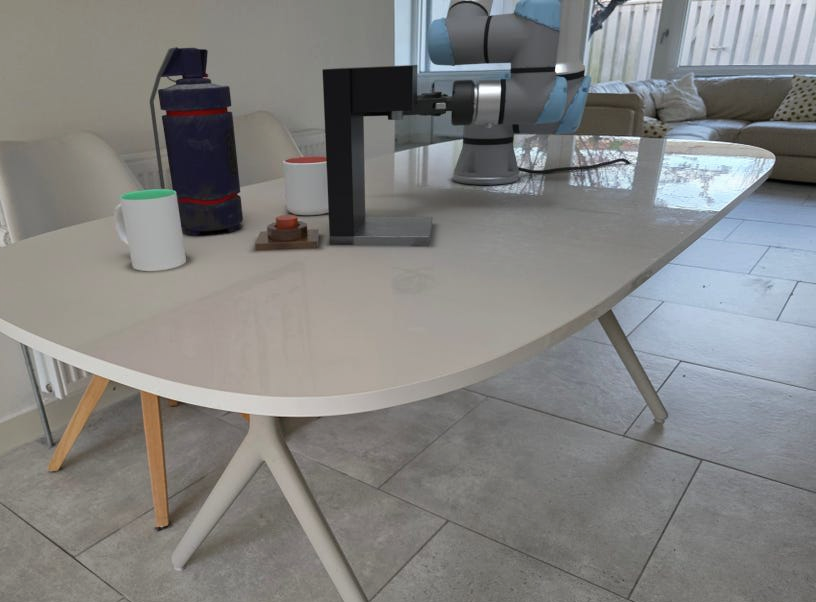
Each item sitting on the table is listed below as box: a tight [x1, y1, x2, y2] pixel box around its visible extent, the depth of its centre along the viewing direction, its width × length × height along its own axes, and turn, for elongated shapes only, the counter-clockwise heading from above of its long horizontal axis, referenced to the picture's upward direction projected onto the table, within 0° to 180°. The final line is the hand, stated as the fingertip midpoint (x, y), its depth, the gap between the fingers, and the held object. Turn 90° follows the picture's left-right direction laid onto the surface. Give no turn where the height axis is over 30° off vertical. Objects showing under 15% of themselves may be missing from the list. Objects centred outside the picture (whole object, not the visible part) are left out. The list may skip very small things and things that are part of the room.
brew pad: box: [254, 220, 320, 252], centre depth 102 cm, size 10×8×3 cm
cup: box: [282, 155, 329, 217], centre depth 123 cm, size 10×10×10 cm
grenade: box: [149, 46, 244, 237], centre depth 108 cm, size 14×12×30 cm
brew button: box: [275, 214, 299, 229], centre depth 102 cm, size 4×4×2 cm
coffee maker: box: [322, 64, 433, 247], centre depth 100 cm, size 16×14×26 cm
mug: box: [113, 188, 187, 272], centre depth 94 cm, size 12×8×10 cm
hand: (356, 106), depth 115 cm, fingers open, 13 cm apart
